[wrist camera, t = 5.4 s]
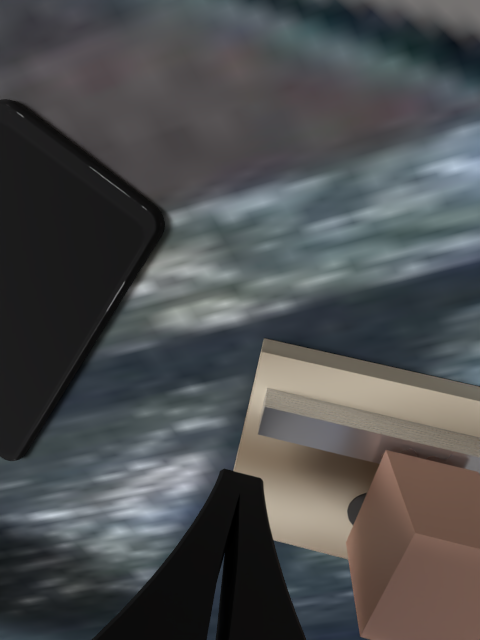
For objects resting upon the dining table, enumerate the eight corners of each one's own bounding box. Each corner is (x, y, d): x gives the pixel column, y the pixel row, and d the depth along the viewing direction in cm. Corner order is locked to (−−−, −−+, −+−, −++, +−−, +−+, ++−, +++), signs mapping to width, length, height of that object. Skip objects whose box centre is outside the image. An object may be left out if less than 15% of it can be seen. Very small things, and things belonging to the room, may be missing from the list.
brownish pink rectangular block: (413, 537, 14) (458, 669, 10) (339, 519, 15) (357, 641, 11) (462, 446, 13) (538, 563, 9) (377, 426, 13) (415, 533, 9)
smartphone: (168, 219, 12) (14, 468, 18) (175, 217, 13) (26, 456, 19) (-9, 86, 11) (-113, 390, 17) (10, 92, 12) (-95, 381, 18)
